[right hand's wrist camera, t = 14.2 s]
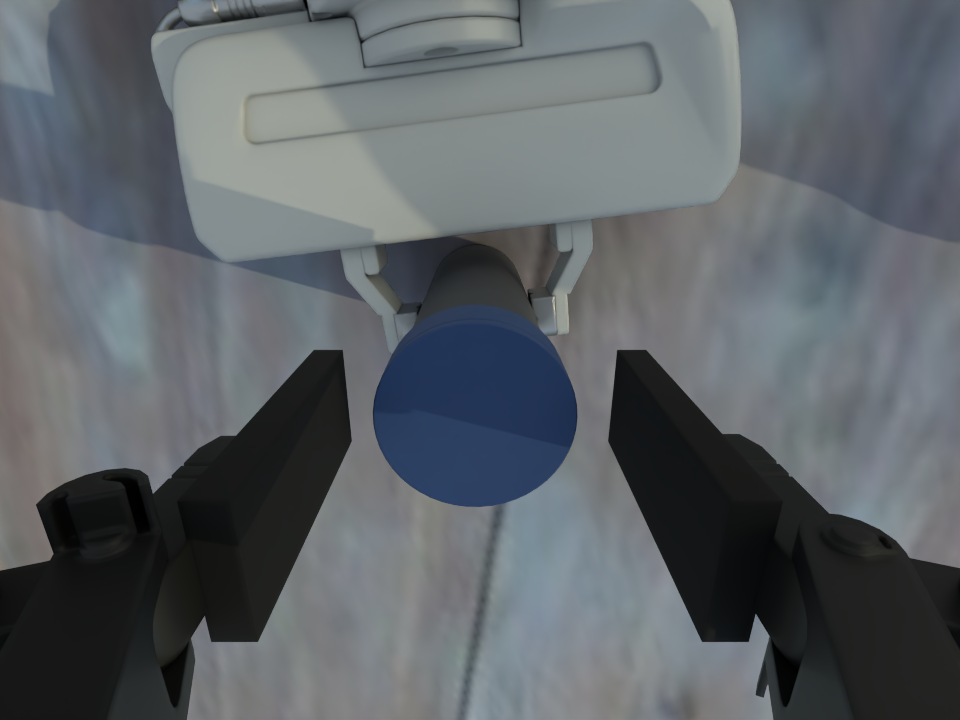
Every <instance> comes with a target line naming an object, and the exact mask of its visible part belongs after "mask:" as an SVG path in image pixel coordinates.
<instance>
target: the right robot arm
mask: <svg viewBox="0 0 960 720" xmlns="http://www.w3.org/2000/svg"><path fill="white" fill-rule="evenodd" d="M351 442H352V439H351V429H350V419H349V409H348V399H347V389H346V379H345V369H344V359H343V350H314V351H313V352H312V353H311V354H310V355H309V356H308V357H307V358H306V359H305V360H304V362H303V363H302V364H301V365H300V366H299V367H298V368H297V369H296V370H295V372H294V373H293V374H292V375H291V376H290V377H289V378H288V379H287V380H286V381H285V383H284V384H283V385H282V386H281V387H280V388H279V389H278V390H277V391H276V392H275V394H274V395H273V396H272V397H271V398H270V399H269V400H268V401H267V402H266V403H265V405H264V406H263V407H262V408H261V409H260V410H259V411H258V412H257V413H256V415H255V416H254V417H253V418H252V419H251V420H250V421H249V422H248V423H247V424H246V426H245V427H244V428H243V429H242V430H241V431H240V432H239V433H238V434H237V435H236V436H220V437H218V438H216V439H215V440H213V441H211V442H209V443H208V444H206V445H204V446H202V447H200V448H199V449H198V450H197V451H196V452H195V453H194V454H193V455H192V456H191V457H190V458H189V459H188V460H187V461H186V462H185V463H184V466H181V467H180V468H179V469H178V470H177V471H176V472H175V473H174V474H173V475H172V478H171V479H168V480H167V481H166V482H165V483H164V484H163V485H162V486H161V487H160V488H159V489H158V490H157V491H156V492H155V493H154V494H153V493H152V489H151V486H150V482H149V478H148V476H147V475H146V474H145V473H143V472H142V471H140V470H134V469H127V468H122V469H111V470H104V471H100V472H96V473H92V474H88V475H84V476H82V477H79V478H77V479H74V480H72V481H69V482H67V483H64V484H63V485H61V486H59V487H58V488H56V489H54V490H53V491H51V492H49V493H48V494H46V495H45V496H44V497H43V498H42V499H41V500H40V501H39V502H38V503H37V504H36V506H37V509H38V512H39V514H40V517H41V520H42V523H43V525H44V528H45V531H46V534H47V537H48V539H49V542H50V545H51V548H52V550H53V553H54V554H53V556H52V558H51V560H50V561H46V562H41V563H36V564H31V565H26V566H22V567H17V568H12V569H7V570H2V571H0V720H187V714H188V707H189V700H190V693H191V686H192V679H193V672H194V665H195V656H194V649H193V645H192V641H191V637H192V635H193V634H194V632H195V630H196V629H197V627H198V625H199V624H200V622H201V621H202V619H203V617H204V616H205V618H206V622H207V626H208V630H209V634H210V638H211V642H258V640H259V638H260V636H261V634H262V632H263V630H264V628H265V625H266V623H267V621H268V619H269V617H270V615H271V613H272V610H273V608H274V606H275V604H276V602H277V600H278V598H279V595H280V593H281V591H282V589H283V587H284V585H285V583H286V581H287V578H288V576H289V574H290V572H291V570H292V568H293V566H294V563H295V561H296V559H297V557H298V555H299V553H300V551H301V548H302V546H303V544H304V542H305V540H306V538H307V536H308V533H309V531H310V529H311V527H312V525H313V523H314V521H315V519H316V516H317V514H318V512H319V510H320V508H321V506H322V504H323V501H324V499H325V497H326V495H327V493H328V491H329V489H330V486H331V484H332V482H333V480H334V478H335V476H336V474H337V471H338V469H339V467H340V465H341V463H342V461H343V459H344V457H345V454H346V452H347V450H348V448H349V446H350V444H351ZM608 442H609V444H610V446H611V448H612V450H613V452H614V454H615V457H616V459H617V461H618V463H619V465H620V467H621V469H622V471H623V474H624V476H625V478H626V480H627V482H628V484H629V486H630V489H631V491H632V493H633V495H634V497H635V499H636V501H637V504H638V506H639V508H640V510H641V512H642V514H643V516H644V519H645V521H646V523H647V525H648V527H649V529H650V531H651V533H652V536H653V538H654V540H655V542H656V544H657V546H658V548H659V551H660V553H661V555H662V557H663V559H664V561H665V563H666V566H667V568H668V570H669V572H670V574H671V576H672V578H673V581H674V583H675V585H676V587H677V589H678V591H679V593H680V595H681V598H682V600H683V602H684V604H685V606H686V608H687V610H688V613H689V615H690V617H691V619H692V621H693V623H694V625H695V628H696V630H697V632H698V634H699V636H700V638H701V640H702V642H749V638H750V634H751V630H752V626H753V622H754V618H755V614H756V615H757V616H758V618H759V619H760V621H761V623H762V624H763V626H764V628H765V629H766V631H767V632H768V634H769V636H770V637H769V641H768V645H767V649H766V653H765V656H764V660H763V664H762V668H761V672H760V675H759V679H758V683H757V690H756V695H757V696H760V697H764V694H765V690H766V687H767V685H768V684H769V691H770V698H771V705H772V712H773V719H774V720H960V568H956V567H951V566H946V565H941V564H936V563H931V562H926V561H921V560H916V559H911V558H909V557H908V555H907V553H906V552H905V551H904V550H903V548H902V547H901V546H900V545H899V544H898V543H897V541H895V540H894V539H893V538H891V537H890V536H888V535H887V534H885V533H884V532H883V531H881V530H880V529H877V528H875V527H873V526H871V525H869V524H867V523H864V522H862V521H860V520H857V519H853V518H850V517H846V516H843V515H837V514H829V513H828V512H827V511H826V510H825V509H824V508H823V507H822V506H821V505H820V504H819V503H818V502H817V501H816V500H815V499H814V498H813V497H812V496H811V495H810V494H809V493H808V492H807V491H806V490H805V489H804V488H803V487H802V486H801V485H800V484H799V483H798V482H797V481H796V480H795V479H794V478H793V477H789V473H788V472H787V471H786V470H785V469H784V468H783V467H782V466H781V465H780V464H776V460H775V459H774V458H773V457H772V456H771V455H770V454H769V453H768V452H767V451H766V450H765V449H764V448H763V447H761V446H760V445H758V444H756V443H754V442H752V441H751V440H749V439H747V438H745V437H743V436H742V435H740V434H722V433H721V432H720V431H719V430H718V429H717V428H716V427H715V426H714V424H713V423H712V422H711V421H710V420H709V419H708V418H707V417H706V416H705V415H704V413H703V412H702V411H701V410H700V409H699V408H698V407H697V406H696V405H695V403H694V402H693V401H692V400H691V399H690V398H689V397H688V396H687V395H686V394H685V392H684V391H683V390H682V389H681V388H680V387H679V386H678V385H677V384H676V383H675V381H674V380H673V379H672V378H671V377H670V376H669V375H668V374H667V373H666V372H665V370H664V369H663V368H662V367H661V366H660V365H659V364H658V363H657V362H656V360H655V359H654V358H653V357H652V356H651V355H650V354H649V353H648V352H647V351H646V350H617V359H616V369H615V379H614V389H613V399H612V409H611V419H610V429H609V439H608Z"/></svg>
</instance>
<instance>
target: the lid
mask: <svg viewBox="0 0 960 720" xmlns="http://www.w3.org/2000/svg"><path fill="white" fill-rule="evenodd" d="M373 423H374V429H375V434H376V438H377V441H378V444H379V447H380V449H381V451H382V453H383V455H384V457H385V459H386V460H387V461H388V463H389V464H390V466H391V467H392V469H393V470H394V471H395V472H396V473H397V474H398V475H399V476H400V477H401V478H402V479H403V480H404V481H405V482H406V483H408V484H409V485H410V486H412V487H413V488H415V489H416V490H418V491H419V492H421V493H423V494H425V495H427V496H429V497H431V498H433V499H436V500H439V501H441V502H445V503H449V504H453V505H459V506H467V507H482V506H492V505H497V504H502V503H506V502H509V501H512V500H515V499H517V498H520V497H522V496H524V495H526V494H528V493H530V492H531V491H533V490H535V489H536V488H538V487H539V486H540V485H542V484H543V483H544V482H545V481H547V480H548V479H549V478H550V477H551V476H552V475H553V474H554V473H555V472H556V470H557V469H558V468H559V466H560V465H561V464H562V462H563V461H564V459H565V457H566V455H567V454H568V452H569V450H570V447H571V445H572V442H573V439H574V435H575V431H576V425H577V403H576V398H575V393H574V390H573V387H572V384H571V381H570V379H569V377H568V375H567V372H566V370H565V368H564V366H563V363H562V361H561V359H560V357H559V355H558V353H557V351H556V349H555V347H554V346H553V344H552V343H551V341H550V340H549V339H548V337H547V336H546V335H545V334H544V333H543V332H542V331H541V330H540V329H539V328H538V327H536V326H535V325H534V324H533V323H532V322H530V321H529V320H527V319H525V318H524V317H522V316H520V315H518V314H516V313H514V312H511V311H509V310H506V309H502V308H499V307H494V306H488V305H463V306H457V307H452V308H448V309H445V310H442V311H440V312H437V313H435V314H433V315H431V316H429V317H427V318H425V319H424V320H422V321H421V322H419V323H418V324H417V325H415V326H414V327H413V328H412V329H411V330H410V331H409V332H408V333H407V334H406V335H405V336H404V337H403V339H402V340H401V341H400V342H399V344H398V345H397V347H396V349H395V351H394V352H393V354H392V356H391V358H390V360H389V363H388V365H387V367H386V369H385V371H384V373H383V375H382V378H381V380H380V382H379V385H378V387H377V391H376V395H375V399H374V407H373Z"/></svg>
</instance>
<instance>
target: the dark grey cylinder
mask: <svg viewBox="0 0 960 720" xmlns="http://www.w3.org/2000/svg"><path fill="white" fill-rule="evenodd" d="M463 305H488V306H494V307H499V308H502V309H506V310H509V311H511V312H514V313H516V314H518V315H520V316H522V317H524V318H525V319H527V320H529V321H530V322H532V323H533V324H534V325H535V326H536V327H538V328H539V325H538V323H537V320H536V318H535V315H534V313H533V310H532V307H531V305H530V302H529V300H528V297H527V295H526V292H525V290H524V287H523V285H522V282H521V279H520V277H519V274H518V272H517V270H516V268H515V266H514V264H513V263H512V262H511V260H510V259H509V258H508V257H507V256H505V255H504V254H503V253H502V252H500V251H498V250H496V249H494V248H492V247H488V246H484V245H469V246H465V247H462V248H459V249H457V250H455V251H453V252H452V253H451V254H449V255H448V256H447V257H446V258H445V259H444V260H443V261H442V262H441V264H440V265H439V267H438V269H437V271H436V273H435V276H434V278H433V280H432V283H431V285H430V288H429V290H428V292H427V295H426V297H425V299H424V302H423V304H422V306H421V309H420V311H419V314H418V316H417V318H416V321H415V323H414V325H413V327H414V326H415V325H417V324H418V323H419V322H421V321H422V320H424V319H425V318H427V317H429V316H431V315H433V314H435V313H437V312H440V311H442V310H445V309H448V308H452V307H457V306H463ZM539 329H540V328H539Z"/></svg>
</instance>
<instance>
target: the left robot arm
mask: <svg viewBox="0 0 960 720" xmlns="http://www.w3.org/2000/svg"><path fill="white" fill-rule="evenodd" d="M177 5H178V7H175V8H174V9H172V10H171V11H169V12H168V13H167V14H166V15H165V16H164V17H163V18H162V19H161V21H160V22H159V24H158V26H157V29H156V32H155V34H154V35H153V36H152V39H151V52H152V59H153V62H154V65H155V69H156V72H157V76H158V79H159V82H160V86H161V89H162V93H163V96H164V99H165V101H166V103H167V105H168V107H169V109H170V110H171V112H172V113H173V121H174V130H175V137H176V144H177V152H178V158H179V164H180V169H181V175H182V181H183V186H184V190H185V195H186V200H187V204H188V209H189V213H190V217H191V221H192V225H193V228H194V231H195V234H196V236H197V238H198V239H199V241H200V242H201V243H202V244H203V245H204V246H205V247H207V248H208V249H209V250H210V251H211V252H212V253H213V254H214V255H216V256H217V257H218V258H219V259H221V260H222V261H224V262H227V263H233V262H242V261H250V260H258V259H266V258H275V257H283V256H291V255H299V254H308V253H316V252H324V251H332V250H340V253H341V258H342V263H343V267H344V272H345V277H346V279H347V280H348V282H349V283H350V284H351V285H352V286H353V287H354V288H355V290H356V291H357V292H358V293H359V294H360V295H361V296H362V298H363V299H364V300H365V301H366V302H367V303H368V304H369V306H370V307H371V308H372V309H373V310H374V311H375V312H376V314H377V315H378V316H382V321H383V326H384V331H385V336H386V341H387V346H388V350H389V352H390V354H391V353H393V352H394V351H395V349H396V347H397V345H398V344H399V342H400V341H401V340H402V339H403V337H404V336H405V335H406V334H407V333H408V332H409V331H410V330H411V329H412V328H413V325H414V323H415V321H416V318H417V316H418V314H419V311H420V309H421V306H422V304H421V302H416V303H406V304H403V302H402V301H401V300H400V299H399V297H398V296H397V295H396V293H395V292H394V291H393V290H392V288H391V287H390V286H389V284H388V283H387V282H386V281H385V279H384V278H383V277H382V275H381V274H380V273H379V272H380V271H381V270H382V269H383V268H384V267H385V266H386V265H387V263H388V258H387V253H386V247H385V244H390V243H398V242H406V241H414V240H423V239H431V238H439V237H447V236H455V235H464V234H472V233H480V232H488V231H497V230H505V229H513V228H521V227H529V226H538V225H546V224H549V230H550V242H551V244H552V245H553V246H554V247H555V248H556V249H557V250H558V251H560V252H561V254H560V256H559V258H558V260H557V262H556V264H555V267H554V269H553V271H552V273H551V275H550V277H549V280H548V282H547V284H546V287H542V288H535V289H528V300H529V302H530V305H531V307H532V310H533V313H534V315H535V318H536V320H537V323H538V325H539V328H540V330H541V331H542V332H543V333H544V334H545V335H546V336H553V335H561V334H568V332H569V318H568V301H567V294H570V293H571V291H572V289H573V287H574V285H575V283H576V281H577V279H578V277H579V276H580V274H581V272H582V270H583V268H584V266H585V264H586V262H587V260H588V258H589V256H590V254H591V252H592V250H593V234H592V219H595V218H603V217H612V216H620V215H628V214H636V213H644V212H653V211H661V210H669V209H677V208H685V207H693V206H701V205H709V204H712V203H714V202H716V201H717V200H718V199H719V197H720V196H721V195H722V194H723V193H724V191H725V190H726V188H727V187H728V185H729V184H730V182H731V181H732V180H733V178H734V177H735V175H736V173H737V171H738V167H739V161H740V151H741V123H742V102H741V72H740V57H739V44H738V33H737V26H736V20H735V15H734V11H733V7H732V4H731V2H730V0H177ZM183 20H184V22H185V23H186V24H187V25H188V26H189V27H188V28H180V29H174V27H175V26H176V25H177V24H179V23H180V22H182V21H183Z"/></svg>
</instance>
